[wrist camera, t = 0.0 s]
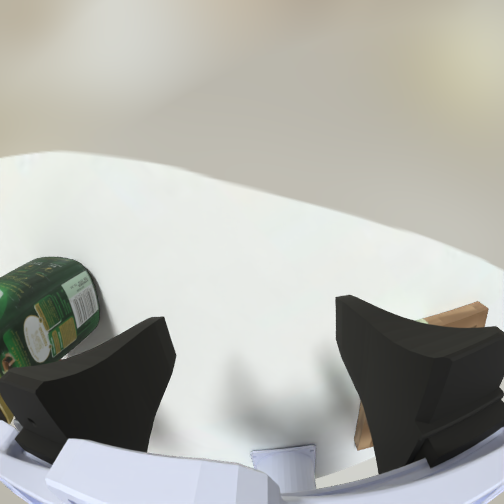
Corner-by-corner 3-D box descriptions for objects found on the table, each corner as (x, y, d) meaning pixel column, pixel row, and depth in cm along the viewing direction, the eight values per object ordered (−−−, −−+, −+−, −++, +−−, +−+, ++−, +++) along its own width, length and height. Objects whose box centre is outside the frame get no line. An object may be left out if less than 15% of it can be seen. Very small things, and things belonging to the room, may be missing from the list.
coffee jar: (46, 321, 23) (-58, 415, 5) (29, 254, 21) (-104, 325, 3) (111, 333, 23) (1, 476, 5) (95, 254, 21) (-79, 366, 3)
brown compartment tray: (445, 408, 25) (455, 424, 22) (354, 439, 26) (359, 459, 23) (477, 301, 21) (496, 314, 18) (368, 332, 22) (382, 353, 19)
